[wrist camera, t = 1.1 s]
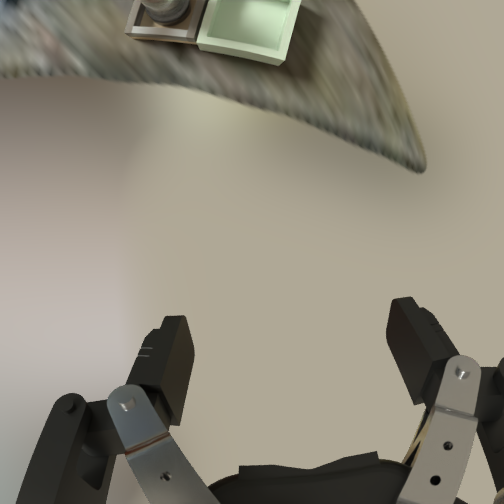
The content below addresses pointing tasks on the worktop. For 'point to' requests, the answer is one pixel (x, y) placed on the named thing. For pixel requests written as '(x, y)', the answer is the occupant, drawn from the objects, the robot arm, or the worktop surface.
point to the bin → (249, 28)
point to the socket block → (183, 32)
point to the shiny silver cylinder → (167, 11)
